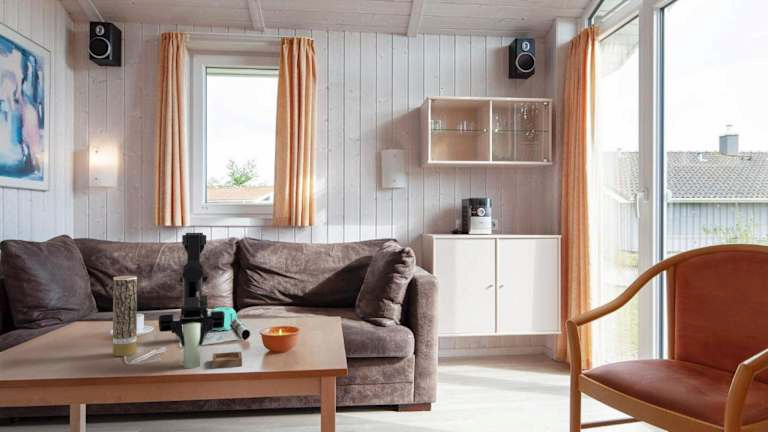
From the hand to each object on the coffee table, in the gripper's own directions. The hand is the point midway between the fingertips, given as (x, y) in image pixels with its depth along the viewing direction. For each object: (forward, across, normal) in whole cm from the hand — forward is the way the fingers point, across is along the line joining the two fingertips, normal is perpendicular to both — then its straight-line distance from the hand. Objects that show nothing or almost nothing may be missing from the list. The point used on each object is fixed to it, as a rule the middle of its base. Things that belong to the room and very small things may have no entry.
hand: (191, 345), depth 147 cm
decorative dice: (-30, +11, +40) cm, 52 cm away
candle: (+4, 0, +6) cm, 7 cm away
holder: (+4, +10, +5) cm, 12 cm away
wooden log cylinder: (-11, -20, +20) cm, 31 cm away
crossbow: (-6, -13, +17) cm, 22 cm away
